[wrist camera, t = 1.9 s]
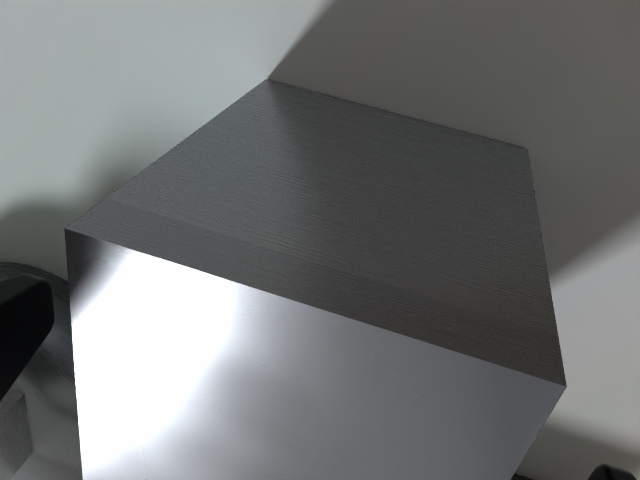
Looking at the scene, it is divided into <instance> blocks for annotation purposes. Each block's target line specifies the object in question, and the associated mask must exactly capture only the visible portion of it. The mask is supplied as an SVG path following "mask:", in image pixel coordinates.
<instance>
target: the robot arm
mask: <svg viewBox="0 0 640 480" xmlns="http://www.w3.org/2000/svg"><path fill="white" fill-rule="evenodd" d="M54 320H55V312H54V302H53V291H52V285H51V284H50V282H49V281H48V280H46V279H43V278H40V277H37V276H34V275H31V274H22V275H18V276H15V277H12V278H8V279H5V280H2V281H0V402H1V401H2V399H3V398H4V397H5V395H6V394H7V392H8V391H9V390H10V388H11V387H12V385H13V384H14V383H15V381H16V380H17V378H18V377H19V375H20V374H21V373H22V371H23V370H24V368H25V367H26V366H27V364H28V363H29V361H30V360H31V358H32V357H33V356H34V354H35V353H36V351H37V350H38V349H39V347H40V346H41V344H42V343H43V341H44V340H45V339H46V337H47V336H48V334H49V333H50V331H51V329H52V327H53V325H54ZM587 480H637V479H636V478H635V477H634V476H633V475H632V474H631V473H630V472H628V471H626V470H623V469H620V468H617V467H614V466H611V465H608V464H600V465H599V466H597V467H596V468H595V470H594V471H593V472H592V474H591V475H590V477H589V478H588V479H587Z"/></svg>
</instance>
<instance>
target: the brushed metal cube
mask: <svg viewBox="0 0 640 480" xmlns="http://www.w3.org/2000/svg"><path fill="white" fill-rule="evenodd" d="M65 241H66V255H67V268H68V282H69V296H70V310H71V323H72V337H73V351H74V364H75V378H76V392H77V406H78V419H79V433H80V447H81V461H82V474H83V480H511V478H512V477H513V475H514V473H515V472H516V470H517V468H518V467H519V465H520V463H521V462H522V460H523V458H524V457H525V455H526V453H527V452H528V450H529V448H530V447H531V445H532V443H533V442H534V440H535V438H536V437H537V435H538V433H539V432H540V430H541V428H542V427H543V425H544V423H545V422H546V420H547V418H548V417H549V415H550V413H551V412H552V410H553V408H554V407H555V405H556V404H557V402H558V400H559V399H560V397H561V395H562V394H563V392H564V390H565V389H566V387H567V386H566V380H565V374H564V368H563V362H562V356H561V350H560V344H559V338H558V332H557V325H556V319H555V313H554V307H553V301H552V295H551V289H550V283H549V277H548V271H547V265H546V259H545V253H544V247H543V241H542V235H541V228H540V222H539V216H538V210H537V204H536V198H535V192H534V186H533V180H532V174H531V168H530V162H529V156H528V150H527V149H525V148H522V147H518V146H514V145H510V144H507V143H503V142H499V141H495V140H492V139H488V138H484V137H480V136H477V135H473V134H469V133H465V132H462V131H458V130H454V129H450V128H447V127H443V126H439V125H436V124H432V123H428V122H424V121H421V120H417V119H413V118H409V117H406V116H402V115H398V114H394V113H391V112H387V111H383V110H379V109H376V108H372V107H368V106H364V105H361V104H357V103H353V102H349V101H346V100H342V99H338V98H335V97H331V96H327V95H323V94H320V93H316V92H312V91H308V90H305V89H301V88H297V87H293V86H290V85H286V84H282V83H278V82H275V81H271V80H267V79H266V80H264V81H263V82H262V83H260V84H259V85H257V86H256V87H255V88H253V89H252V90H251V91H249V92H248V93H247V94H245V95H244V96H243V97H241V98H240V99H239V100H237V101H236V102H235V103H233V104H232V105H230V106H229V107H228V108H226V109H225V110H224V111H222V112H221V113H220V114H218V115H217V116H216V117H214V118H213V119H212V120H210V121H209V122H208V123H206V124H205V125H203V126H202V127H201V128H199V129H198V130H197V131H195V132H194V133H193V134H191V135H190V136H189V137H187V138H186V139H185V140H183V141H182V142H181V143H179V144H178V145H176V146H175V147H174V148H172V149H171V150H170V151H168V152H167V153H166V154H164V155H163V156H162V157H160V158H159V159H158V160H156V161H155V162H154V163H152V164H151V165H149V166H148V167H147V168H145V169H144V170H143V171H141V172H140V173H139V174H137V175H136V176H135V177H133V178H132V179H131V180H129V181H128V182H126V183H125V184H124V185H122V186H121V187H120V188H118V189H117V190H116V191H114V192H113V193H112V194H110V195H109V196H108V197H106V198H105V199H104V200H102V201H101V202H99V203H98V204H97V205H95V206H94V207H93V208H91V209H90V210H89V211H87V212H86V213H85V214H83V215H82V216H81V217H79V218H78V219H77V220H75V221H74V222H72V223H71V224H70V225H68V226H67V227H66V228H65Z"/></svg>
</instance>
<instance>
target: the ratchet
mask: <svg viewBox="0 0 640 480" xmlns="http://www.w3.org/2000/svg"><path fill="white" fill-rule="evenodd" d="M22 274H31V275H34V276H37V277H40V278H43V279H46V280H48V281H49V282H50V284H51V285H52V291H53V302H54V312H55V320H54V325H53V327H52V329H51V331H50V333H49V334H48V336H47V337H46V339H45V340H44V341H43V343H42V344H41V346H40V347H39V349H38V350H37V351H36V353H35V354H34V356H33V357H32V358H31V360H30V361H29V363H28V364H27V366H26V367H25V368H24V370H23V371H22V373H21V374H20V375H19V377H18V378H17V380H16V381H15V383H14V384H13V385H12V387H11V388H10V390H9V391H8V392H7V394H6V395H5V397H4V398H3V399H2V401H1V402H0V480H83V474H82V461H81V447H80V433H79V419H78V406H77V392H76V378H75V364H74V351H73V337H72V323H71V310H70V296H69V283H68V282H66V281H64V280H62V279H60V278H58V277H56V276H54V275H52V274H50V273H47V272H45V271H42V270H40V269H37V268H33V267H30V266H26V265H21V264H15V263H0V281H2V280H5V279H8V278H12V277H15V276H18V275H22ZM511 480H530V479H527V478H524V477H521V476H518V475H515V474H514V475H513V477H512V478H511Z"/></svg>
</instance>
